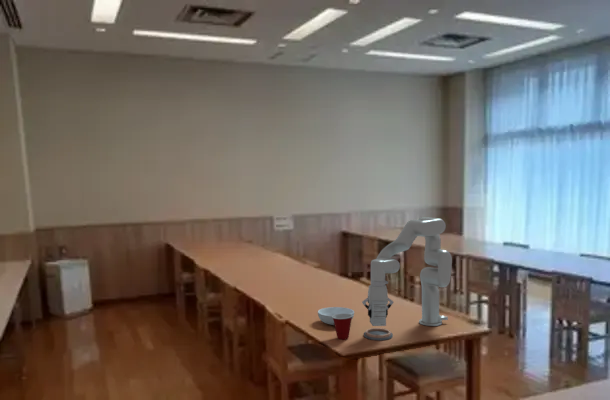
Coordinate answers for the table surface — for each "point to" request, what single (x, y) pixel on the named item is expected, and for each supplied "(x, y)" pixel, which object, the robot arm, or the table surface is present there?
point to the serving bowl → (332, 313)
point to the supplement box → (378, 313)
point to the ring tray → (378, 334)
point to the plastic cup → (342, 325)
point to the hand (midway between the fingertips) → (377, 316)
